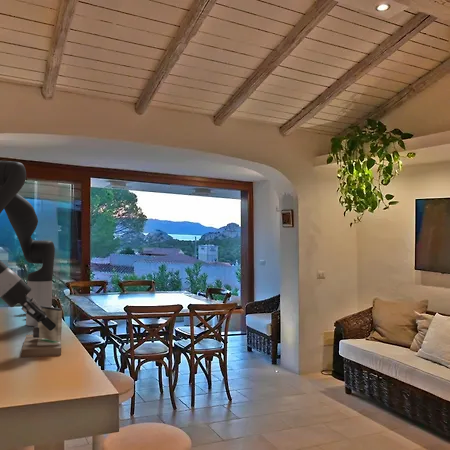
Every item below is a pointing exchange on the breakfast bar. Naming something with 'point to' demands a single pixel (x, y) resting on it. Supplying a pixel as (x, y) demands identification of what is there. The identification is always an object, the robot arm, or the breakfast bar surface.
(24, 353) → the brown rectangular board
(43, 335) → the dark-edged wooden panel
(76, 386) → the breakfast bar surface
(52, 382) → the breakfast bar surface
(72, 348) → the breakfast bar surface
